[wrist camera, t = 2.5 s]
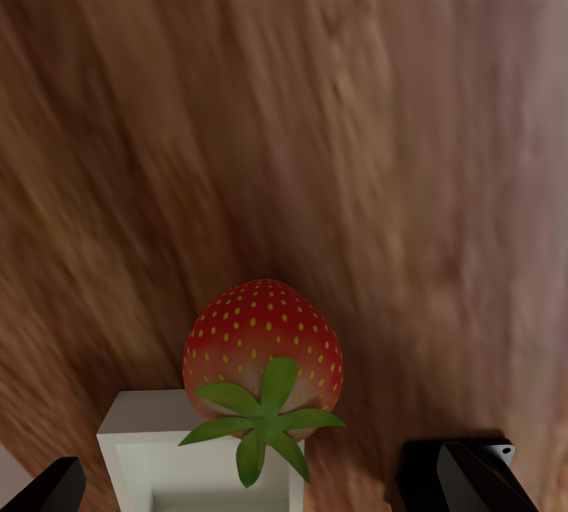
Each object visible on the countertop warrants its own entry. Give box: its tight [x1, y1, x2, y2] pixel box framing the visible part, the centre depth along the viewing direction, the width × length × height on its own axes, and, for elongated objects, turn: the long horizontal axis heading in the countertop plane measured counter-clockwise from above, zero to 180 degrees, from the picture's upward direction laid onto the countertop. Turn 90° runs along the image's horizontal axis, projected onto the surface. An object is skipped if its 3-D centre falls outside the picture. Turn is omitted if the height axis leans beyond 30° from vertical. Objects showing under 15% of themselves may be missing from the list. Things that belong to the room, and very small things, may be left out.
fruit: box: [177, 278, 346, 488], centre depth 12 cm, size 5×5×8 cm
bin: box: [96, 389, 305, 512], centre depth 18 cm, size 9×9×2 cm
